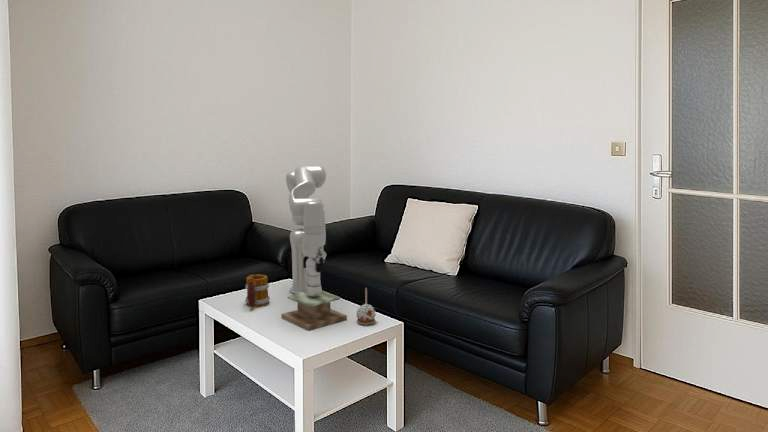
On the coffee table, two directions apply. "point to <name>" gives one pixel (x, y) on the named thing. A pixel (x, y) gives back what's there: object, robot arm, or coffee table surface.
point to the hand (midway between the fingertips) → (313, 269)
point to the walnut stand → (313, 311)
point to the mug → (257, 291)
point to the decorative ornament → (366, 313)
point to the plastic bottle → (313, 278)
